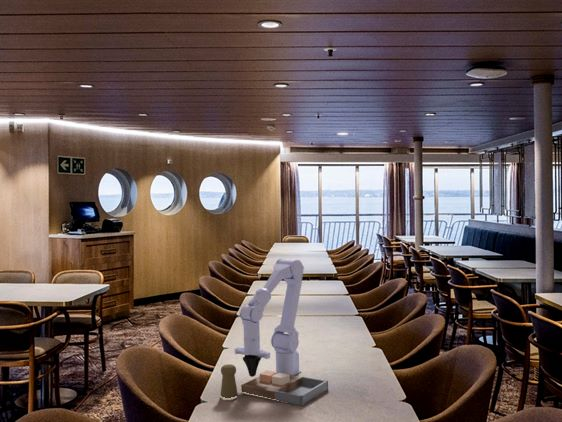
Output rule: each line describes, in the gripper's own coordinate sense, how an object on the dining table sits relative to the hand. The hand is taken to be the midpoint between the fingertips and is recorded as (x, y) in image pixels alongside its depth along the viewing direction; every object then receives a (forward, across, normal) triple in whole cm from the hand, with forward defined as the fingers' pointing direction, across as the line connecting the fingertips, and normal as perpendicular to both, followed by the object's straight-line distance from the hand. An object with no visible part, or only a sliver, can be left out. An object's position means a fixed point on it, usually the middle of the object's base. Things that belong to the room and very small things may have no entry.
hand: (252, 375), depth 201 cm
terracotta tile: (0, +7, 0) cm, 7 cm away
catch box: (+3, +21, 0) cm, 21 cm away
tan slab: (+3, +9, 0) cm, 9 cm away
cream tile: (0, +12, 0) cm, 12 cm away
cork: (+4, 0, -14) cm, 14 cm away
